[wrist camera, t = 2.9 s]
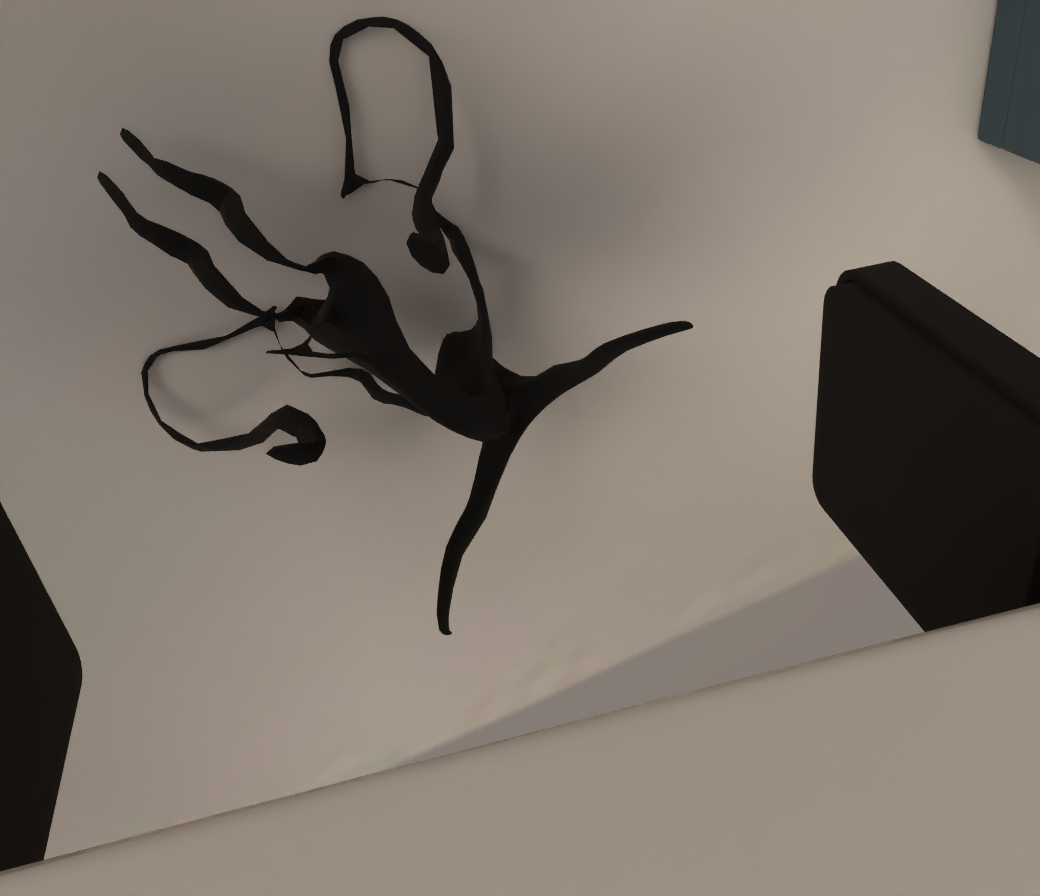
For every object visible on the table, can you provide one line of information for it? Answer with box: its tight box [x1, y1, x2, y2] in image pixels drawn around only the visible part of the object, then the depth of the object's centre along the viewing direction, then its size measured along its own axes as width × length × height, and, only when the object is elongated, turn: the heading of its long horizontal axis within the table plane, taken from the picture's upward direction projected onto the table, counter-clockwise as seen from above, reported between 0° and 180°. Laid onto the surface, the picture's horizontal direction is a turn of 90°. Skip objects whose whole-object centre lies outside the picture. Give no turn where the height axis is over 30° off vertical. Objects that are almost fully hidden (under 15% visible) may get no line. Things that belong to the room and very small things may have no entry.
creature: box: [97, 17, 693, 635], centre depth 14 cm, size 8×5×8 cm
